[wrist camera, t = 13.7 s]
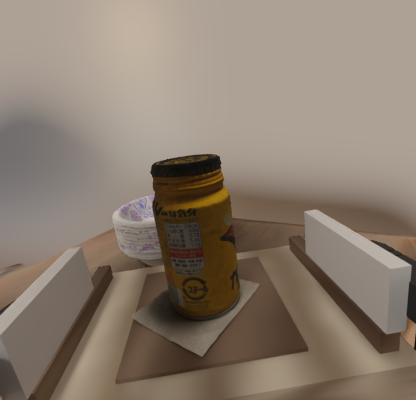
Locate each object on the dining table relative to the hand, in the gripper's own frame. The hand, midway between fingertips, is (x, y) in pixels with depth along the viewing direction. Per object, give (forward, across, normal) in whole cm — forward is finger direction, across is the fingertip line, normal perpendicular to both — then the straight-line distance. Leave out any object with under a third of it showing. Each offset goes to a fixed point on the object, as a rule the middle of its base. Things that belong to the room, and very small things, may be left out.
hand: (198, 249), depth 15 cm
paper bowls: (+22, -4, -11) cm, 25 cm away
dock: (+5, 0, -10) cm, 11 cm away
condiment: (+5, -1, -7) cm, 9 cm away
